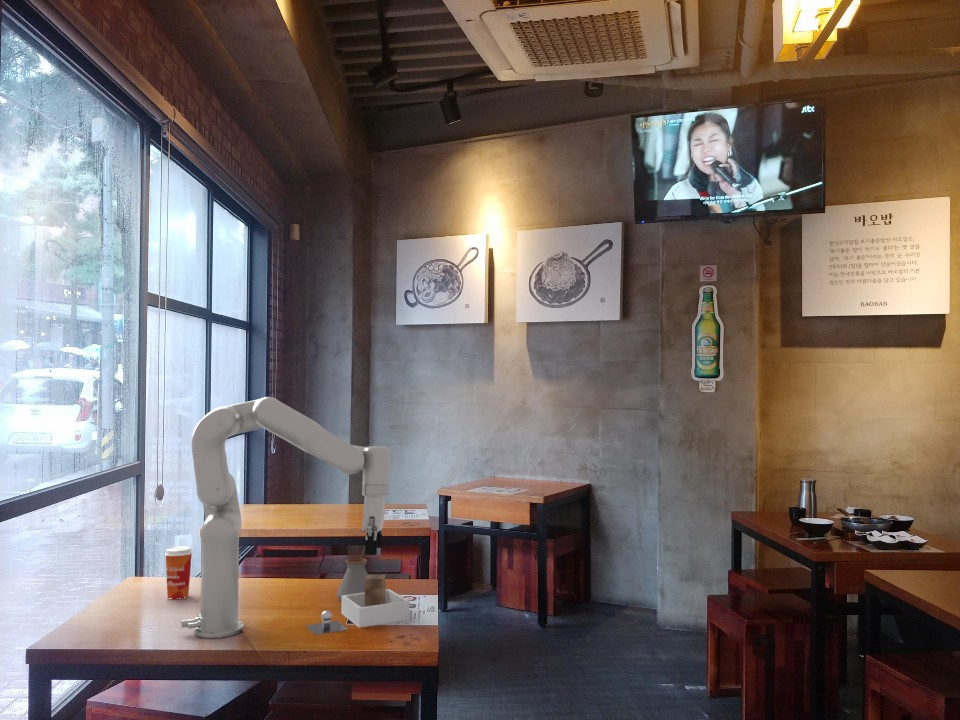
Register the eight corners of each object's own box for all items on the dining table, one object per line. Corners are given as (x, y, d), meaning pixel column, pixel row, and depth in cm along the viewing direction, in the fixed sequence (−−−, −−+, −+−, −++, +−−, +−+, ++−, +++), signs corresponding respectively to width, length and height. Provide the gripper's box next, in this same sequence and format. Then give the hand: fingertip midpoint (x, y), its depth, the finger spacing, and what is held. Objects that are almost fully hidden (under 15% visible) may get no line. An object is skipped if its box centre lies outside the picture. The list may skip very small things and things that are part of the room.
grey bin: (359, 631, 199) (359, 608, 199) (341, 616, 212) (341, 595, 212) (409, 623, 206) (409, 601, 206) (389, 609, 219) (389, 589, 219)
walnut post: (364, 618, 206) (364, 578, 207) (367, 613, 211) (367, 574, 212) (382, 619, 206) (382, 579, 207) (385, 613, 211) (385, 574, 212)
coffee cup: (157, 599, 229) (158, 550, 230) (175, 592, 237) (176, 545, 238) (180, 601, 227) (181, 552, 228) (198, 594, 235) (199, 546, 235)
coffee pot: (370, 608, 220) (370, 557, 220) (332, 607, 221) (332, 556, 221) (385, 590, 241) (385, 543, 242) (350, 589, 242) (350, 542, 243)
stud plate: (314, 638, 193) (315, 617, 193) (304, 629, 201) (305, 608, 201) (348, 633, 197) (348, 612, 197) (337, 624, 205) (337, 604, 205)
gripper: (367, 486, 219) (365, 544, 218) (357, 493, 202) (354, 557, 201) (392, 486, 219) (390, 545, 218) (384, 494, 202) (382, 558, 201)
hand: (373, 551), depth 210 cm, fingers open, 9 cm apart
